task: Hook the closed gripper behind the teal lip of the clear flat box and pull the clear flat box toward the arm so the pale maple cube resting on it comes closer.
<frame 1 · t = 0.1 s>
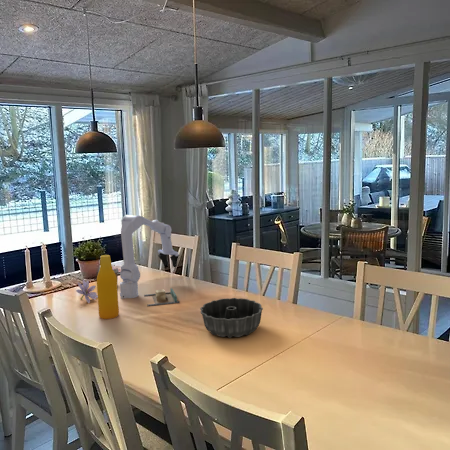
hand: (170, 266, 257), 11 cm above the table, tool pointing down, fingers open, 7 cm apart
clear flat box: (164, 296, 227), point 2 cm above the table, slide at 0.0 cm, touching maple cube
lane rails: (161, 300, 227), on the table
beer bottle: (109, 316, 206), on the table
bundt pan: (231, 330, 186), on the table
water lily: (88, 300, 231), on the table
food container: (107, 286, 257), on the table
maple cube: (160, 299, 227), point 1 cm above the table, touching clear flat box
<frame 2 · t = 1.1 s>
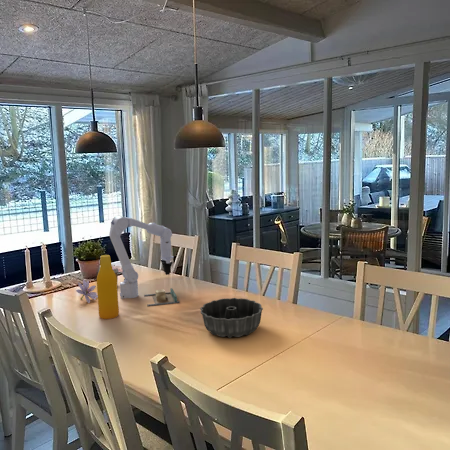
hand: (166, 273, 241), 10 cm above the table, tool pointing down, fingers open, 4 cm apart
nothing on the table moved.
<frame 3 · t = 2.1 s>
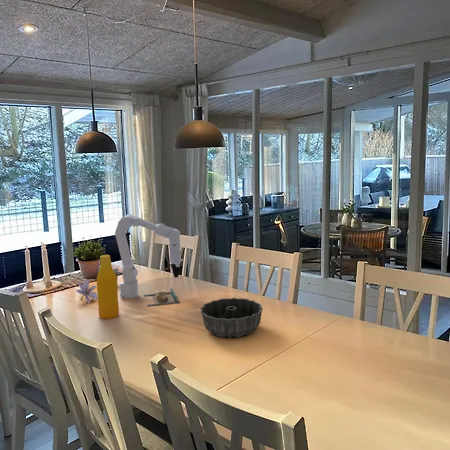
hand: (176, 277, 232), 11 cm above the table, tool pointing down, fingers closed
nothing on the table moved.
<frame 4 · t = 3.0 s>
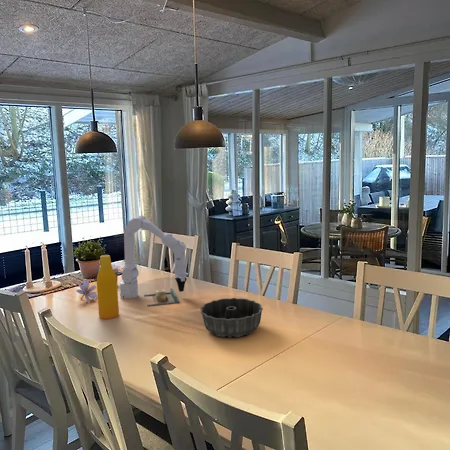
hand: (181, 291, 229), 4 cm above the table, tool pointing down, fingers closed
nothing on the table moved.
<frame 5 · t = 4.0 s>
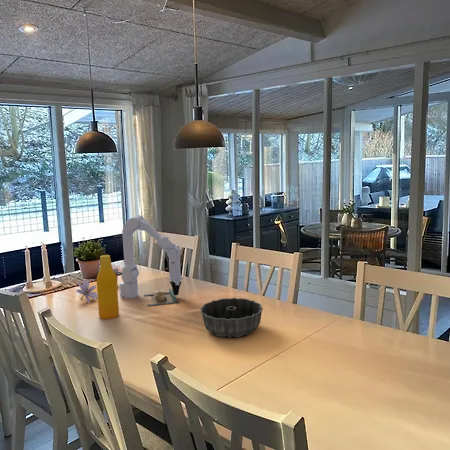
hand: (175, 294, 228), 2 cm above the table, tool pointing down, fingers closed, pressing on clear flat box
clear flat box: (162, 297, 227), point 2 cm above the table, slide at 0.7 cm, touching gripper, maple cube
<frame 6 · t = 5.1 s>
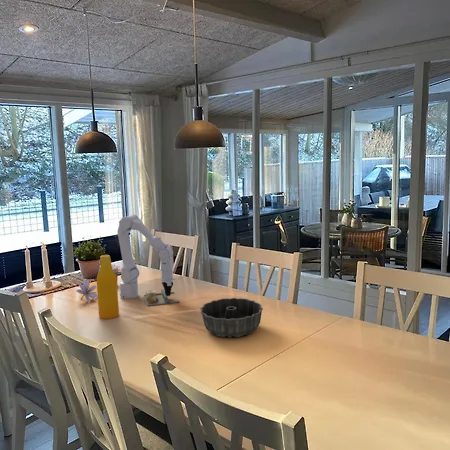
hand: (167, 295, 227), 2 cm above the table, tool pointing down, fingers closed, pressing on clear flat box
clear flat box: (154, 297, 226), point 2 cm above the table, slide at 4.9 cm, touching gripper, maple cube
maple cube: (151, 300, 225), point 1 cm above the table, touching clear flat box
everything else where it was.
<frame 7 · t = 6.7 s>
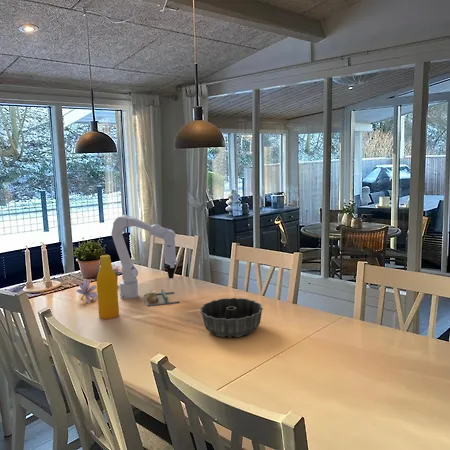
hand: (171, 278, 231), 10 cm above the table, tool pointing down, fingers closed
clear flat box: (154, 297, 226), point 2 cm above the table, slide at 4.9 cm, touching maple cube
everything else where it was.
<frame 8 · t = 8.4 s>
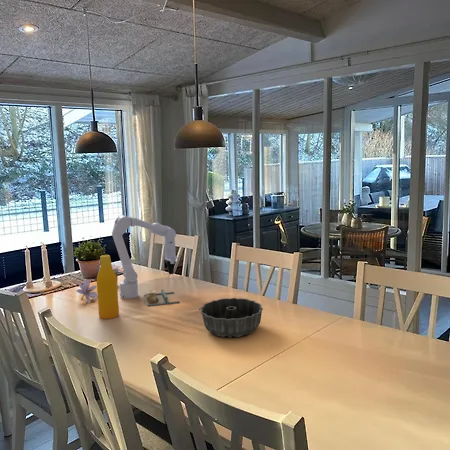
hand: (171, 273, 240), 10 cm above the table, tool pointing down, fingers closed
nothing on the table moved.
at the end: clear flat box slide at 4.9 cm; maple cube 0.2 cm from the target spot, point 0.9 cm above the table; maple cube tilted 0° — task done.
